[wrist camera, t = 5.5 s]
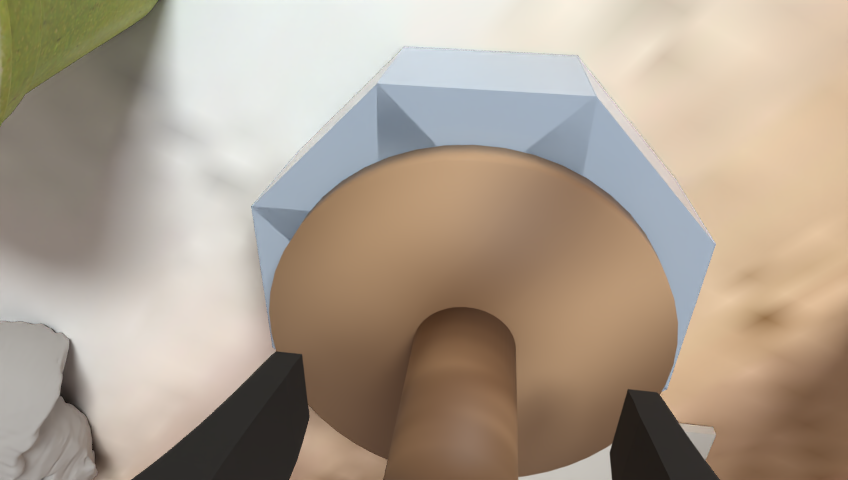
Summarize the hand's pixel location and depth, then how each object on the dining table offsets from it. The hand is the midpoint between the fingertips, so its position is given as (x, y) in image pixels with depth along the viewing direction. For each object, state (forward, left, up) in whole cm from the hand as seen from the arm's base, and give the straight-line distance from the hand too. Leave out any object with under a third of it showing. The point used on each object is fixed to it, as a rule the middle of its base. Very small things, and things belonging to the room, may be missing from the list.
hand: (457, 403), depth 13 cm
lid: (0, +1, -4) cm, 4 cm away
